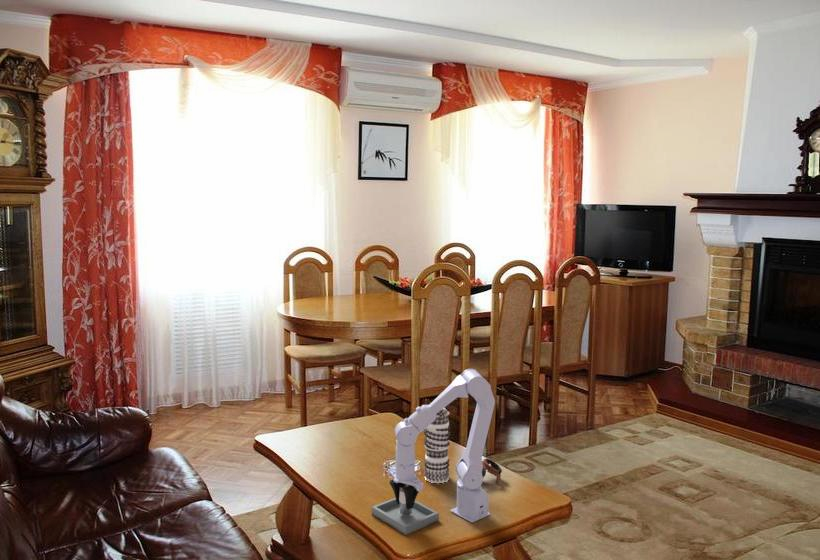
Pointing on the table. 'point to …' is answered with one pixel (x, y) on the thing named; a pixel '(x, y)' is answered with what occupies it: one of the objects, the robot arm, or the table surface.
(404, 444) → the robot arm
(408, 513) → the shaker
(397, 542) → the table surface
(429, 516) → the tray
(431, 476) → the decorative candle
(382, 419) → the table surface
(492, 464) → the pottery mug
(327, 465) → the table surface
